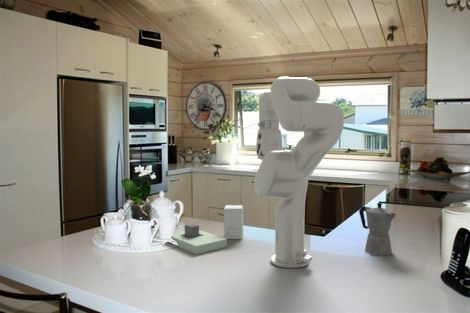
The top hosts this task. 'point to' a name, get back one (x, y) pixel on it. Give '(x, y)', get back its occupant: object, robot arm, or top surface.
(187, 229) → the plug
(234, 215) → the supplement box
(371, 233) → the coffeepot
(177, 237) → the socket plate
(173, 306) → the top surface
